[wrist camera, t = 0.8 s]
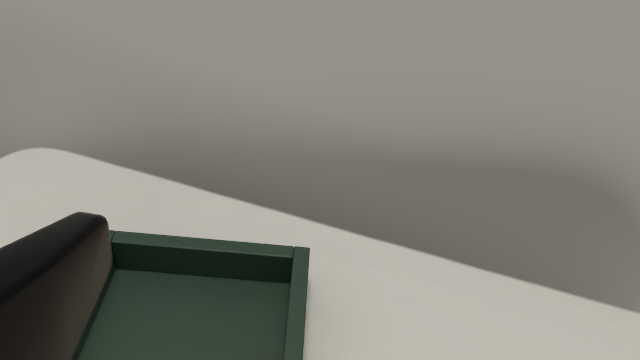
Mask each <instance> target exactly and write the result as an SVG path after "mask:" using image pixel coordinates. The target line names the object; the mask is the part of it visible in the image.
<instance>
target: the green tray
mask: <svg viewBox="0 0 640 360" xmlns="http://www.w3.org/2000/svg"><path fill="white" fill-rule="evenodd" d="M109 235H110V242H111V250H112V266H111V270H110V273H109V275H108V278H107V280H106V282H105V285H104V287H103V289H102V292H101V294H100V296H99V298H98V301H97V303H96V305H95V308H94V310H93V312H92V315H91V317H90V319H89V322H88V324H87V326H86V329H85V331H84V333H83V335H82V338H81V340H80V342H79V345H78V347H77V349H76V351H75V353H74V355H73V358H72V360H303V344H304V329H305V314H306V299H307V283H308V268H309V253H310V248H307V247H293V246H282V245H271V244H259V243H248V242H237V241H225V240H214V239H202V238H191V237H179V236H168V235H156V234H145V233H133V232H122V231H116V232H115V231H112V230H109Z"/></svg>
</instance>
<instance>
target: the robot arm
mask: <svg viewBox="0 0 640 360" xmlns="http://www.w3.org/2000/svg"><path fill="white" fill-rule="evenodd" d="M111 266H112V250H111V242H110V235H109V227H108V222H107V220H106V218H105V217H103V216H102V215H97V214H91V213H84V212H77V213H74V214H72V215H70V216H67V217H65V218H63V219H61V220H59V221H57V222H55V223H53V224H51V225H48V226H46V227H44V228H42V229H40V230H38V231H36V232H34V233H32V234H30V235H27V236H25V237H23V238H21V239H19V240H17V241H15V242H13V243H11V244H8V245H6V246H4V247H2V248H0V360H72V358H73V355H74V353H75V351H76V349H77V347H78V345H79V342H80V340H81V338H82V335H83V333H84V331H85V329H86V326H87V324H88V322H89V319H90V317H91V315H92V312H93V310H94V308H95V305H96V303H97V301H98V298H99V296H100V294H101V292H102V289H103V287H104V285H105V282H106V280H107V278H108V275H109V273H110V270H111Z"/></svg>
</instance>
